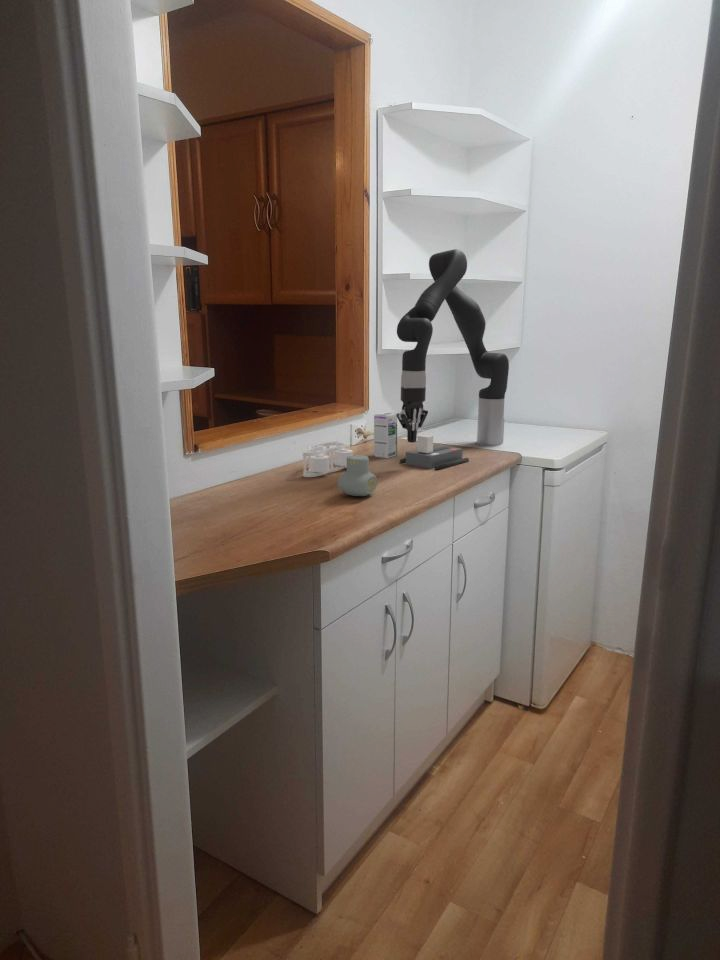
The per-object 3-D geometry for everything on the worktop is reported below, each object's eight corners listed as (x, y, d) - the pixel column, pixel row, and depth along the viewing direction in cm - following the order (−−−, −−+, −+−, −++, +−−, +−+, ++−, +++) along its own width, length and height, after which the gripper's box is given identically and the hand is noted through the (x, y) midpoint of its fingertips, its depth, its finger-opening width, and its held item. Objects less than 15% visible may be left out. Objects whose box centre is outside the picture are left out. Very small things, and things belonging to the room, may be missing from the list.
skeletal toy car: (317, 479, 197) (316, 454, 195) (289, 474, 204) (289, 450, 202) (359, 467, 212) (359, 444, 211) (333, 462, 219) (333, 440, 217)
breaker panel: (437, 456, 228) (438, 444, 227) (462, 460, 222) (462, 448, 221) (405, 464, 216) (405, 451, 215) (430, 469, 210) (430, 456, 209)
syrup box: (387, 458, 225) (388, 415, 221) (373, 456, 228) (373, 413, 225) (397, 456, 229) (398, 413, 226) (383, 453, 233) (383, 411, 229)
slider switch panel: (431, 455, 230) (431, 451, 230) (469, 461, 220) (469, 457, 220) (398, 463, 218) (398, 458, 218) (437, 470, 208) (437, 466, 207)
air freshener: (353, 487, 188) (353, 452, 185) (380, 491, 184) (380, 454, 181) (334, 496, 178) (333, 459, 176) (362, 500, 174) (362, 462, 172)
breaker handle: (422, 450, 217) (423, 434, 216) (432, 451, 214) (433, 436, 213) (417, 451, 215) (417, 435, 214) (427, 453, 212) (427, 437, 211)
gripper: (417, 383, 212) (415, 438, 216) (389, 386, 203) (388, 443, 207) (436, 385, 207) (434, 441, 211) (409, 388, 198) (407, 446, 202)
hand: (411, 442), depth 209 cm, fingers closed
